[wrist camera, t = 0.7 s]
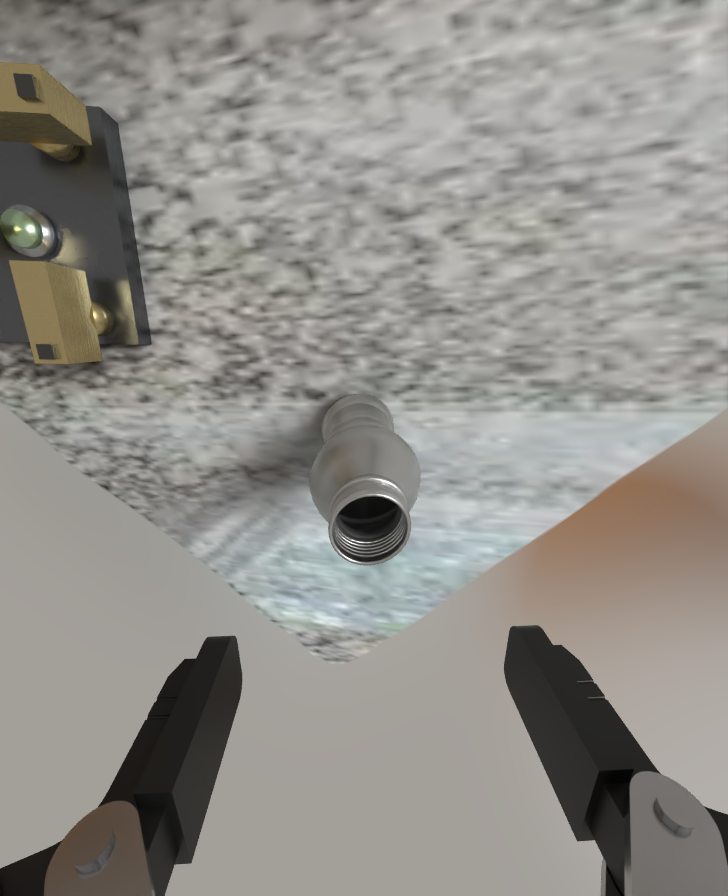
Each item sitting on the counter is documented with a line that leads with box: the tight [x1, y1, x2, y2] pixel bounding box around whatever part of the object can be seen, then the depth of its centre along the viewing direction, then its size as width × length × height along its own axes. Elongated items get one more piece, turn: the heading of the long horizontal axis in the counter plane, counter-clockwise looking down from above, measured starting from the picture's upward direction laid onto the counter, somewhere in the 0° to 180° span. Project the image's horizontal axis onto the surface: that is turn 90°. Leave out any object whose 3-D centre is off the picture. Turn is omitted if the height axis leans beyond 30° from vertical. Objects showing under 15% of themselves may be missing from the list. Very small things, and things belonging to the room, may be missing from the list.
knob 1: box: [0, 62, 92, 162], centre depth 22 cm, size 6×3×6 cm, turn 89°
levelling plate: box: [0, 106, 152, 345], centre depth 27 cm, size 16×13×3 cm
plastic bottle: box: [309, 394, 421, 565], centre depth 25 cm, size 6×7×20 cm
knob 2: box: [9, 260, 113, 364], centre depth 26 cm, size 6×3×6 cm, turn 179°
